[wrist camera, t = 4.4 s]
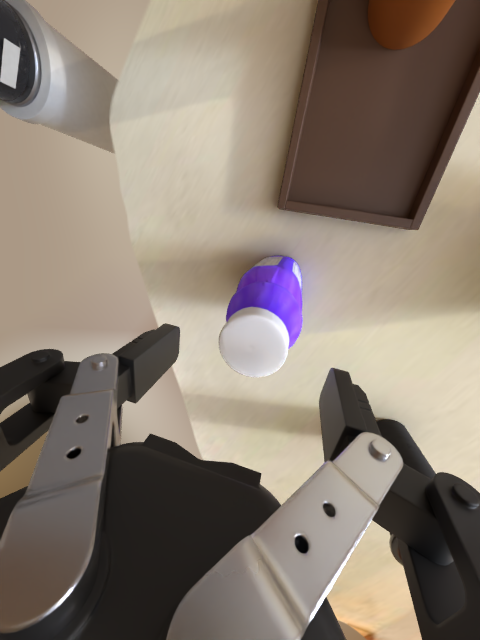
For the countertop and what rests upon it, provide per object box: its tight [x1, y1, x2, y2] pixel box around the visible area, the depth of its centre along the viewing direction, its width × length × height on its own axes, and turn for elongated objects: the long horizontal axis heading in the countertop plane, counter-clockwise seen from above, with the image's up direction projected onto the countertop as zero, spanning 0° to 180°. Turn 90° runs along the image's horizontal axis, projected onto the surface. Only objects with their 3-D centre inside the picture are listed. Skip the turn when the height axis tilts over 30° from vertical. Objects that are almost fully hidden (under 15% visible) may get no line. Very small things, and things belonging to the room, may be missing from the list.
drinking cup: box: [377, 420, 436, 565], centre depth 24 cm, size 8×8×20 cm
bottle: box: [219, 256, 302, 377], centre depth 21 cm, size 7×6×17 cm
